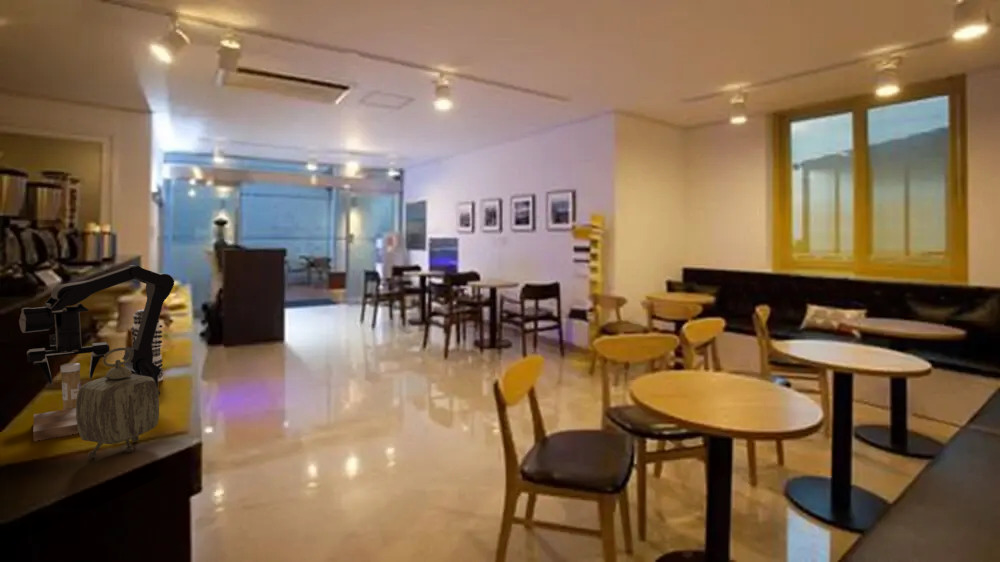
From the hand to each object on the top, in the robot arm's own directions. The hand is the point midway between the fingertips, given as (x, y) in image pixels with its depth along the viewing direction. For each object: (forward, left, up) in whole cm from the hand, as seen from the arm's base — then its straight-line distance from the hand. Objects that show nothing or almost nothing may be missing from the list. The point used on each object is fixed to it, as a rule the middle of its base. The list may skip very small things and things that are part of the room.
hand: (71, 380), depth 160 cm
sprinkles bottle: (0, 0, -9) cm, 9 cm away
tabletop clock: (-8, +46, -9) cm, 47 cm away
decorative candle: (-22, -23, -9) cm, 33 cm away
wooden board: (-1, +17, -8) cm, 19 cm away
